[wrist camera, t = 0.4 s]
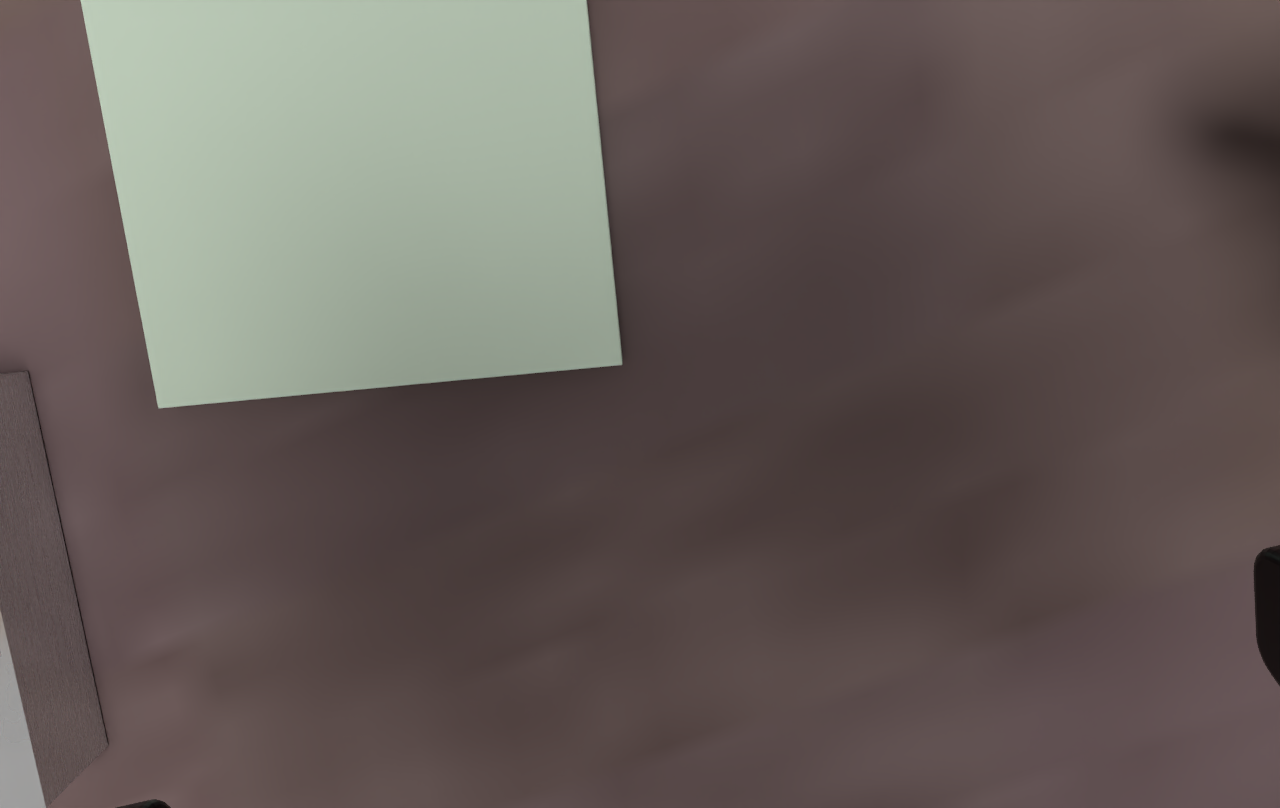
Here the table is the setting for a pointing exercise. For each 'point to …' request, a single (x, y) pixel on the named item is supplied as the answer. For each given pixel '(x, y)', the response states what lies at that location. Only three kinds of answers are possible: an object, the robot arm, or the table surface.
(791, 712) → the table surface
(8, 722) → the frame
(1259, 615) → the robot arm
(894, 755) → the table surface
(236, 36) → the mat
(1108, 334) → the table surface
